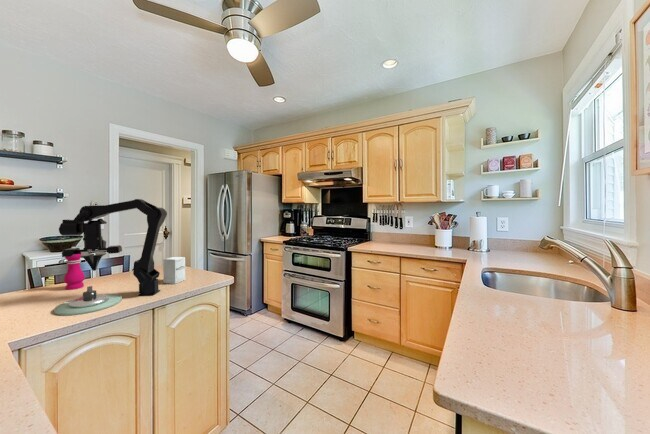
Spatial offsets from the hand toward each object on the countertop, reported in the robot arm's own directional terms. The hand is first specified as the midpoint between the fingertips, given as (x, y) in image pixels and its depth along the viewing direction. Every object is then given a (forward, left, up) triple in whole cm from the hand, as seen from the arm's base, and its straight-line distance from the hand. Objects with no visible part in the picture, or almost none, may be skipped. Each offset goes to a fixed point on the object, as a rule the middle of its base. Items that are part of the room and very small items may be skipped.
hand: (94, 270), depth 112 cm
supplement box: (-24, -20, -12) cm, 34 cm away
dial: (-4, +8, -10) cm, 14 cm away
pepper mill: (+19, -14, -12) cm, 27 cm away
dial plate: (-5, +10, -12) cm, 16 cm away
